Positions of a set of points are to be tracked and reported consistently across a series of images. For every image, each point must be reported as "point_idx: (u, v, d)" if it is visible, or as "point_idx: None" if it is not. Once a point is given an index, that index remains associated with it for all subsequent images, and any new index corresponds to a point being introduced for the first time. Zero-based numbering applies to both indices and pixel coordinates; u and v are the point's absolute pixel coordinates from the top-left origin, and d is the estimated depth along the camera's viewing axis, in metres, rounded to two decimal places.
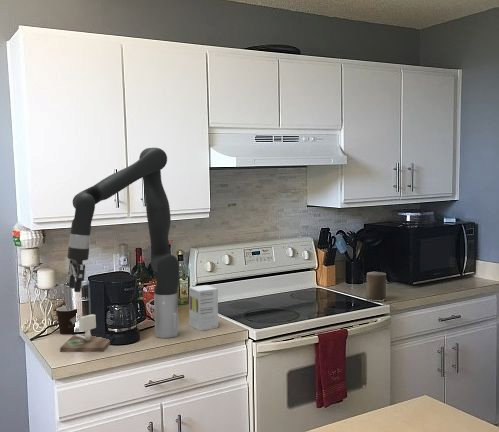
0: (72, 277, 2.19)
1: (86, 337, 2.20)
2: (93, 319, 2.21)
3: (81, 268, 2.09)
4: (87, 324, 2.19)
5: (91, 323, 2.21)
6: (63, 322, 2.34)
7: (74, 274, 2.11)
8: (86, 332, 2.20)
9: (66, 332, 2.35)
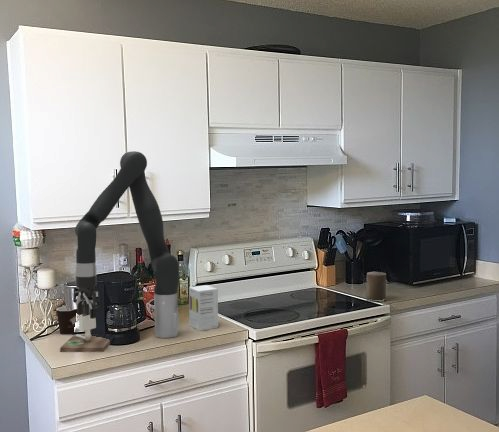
0: (79, 304, 2.22)
1: (86, 337, 2.20)
2: (93, 319, 2.21)
3: (97, 295, 2.15)
4: (87, 324, 2.19)
5: (91, 323, 2.21)
6: (63, 322, 2.34)
7: (88, 302, 2.16)
8: (86, 332, 2.20)
9: (66, 332, 2.35)
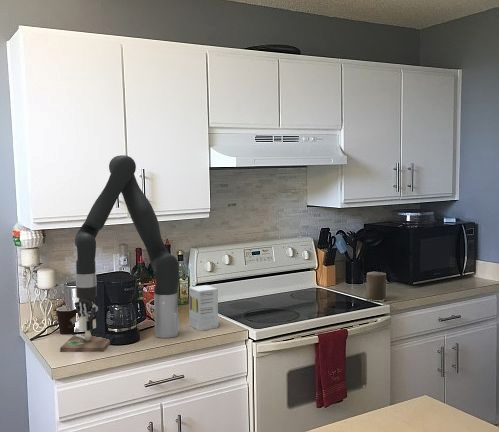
0: None
1: (86, 337, 2.20)
2: None
3: (96, 310, 2.16)
4: None
5: None
6: (63, 322, 2.34)
7: (86, 314, 2.18)
8: (86, 332, 2.20)
9: (66, 332, 2.35)
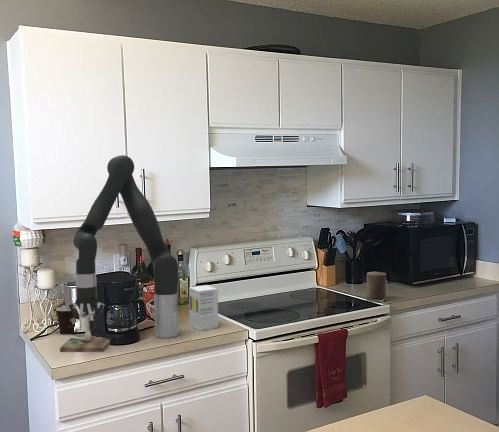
0: None
1: (87, 337, 2.20)
2: None
3: (102, 308, 2.20)
4: (88, 324, 2.20)
5: None
6: (63, 322, 2.34)
7: (92, 314, 2.19)
8: (87, 332, 2.20)
9: (66, 332, 2.35)
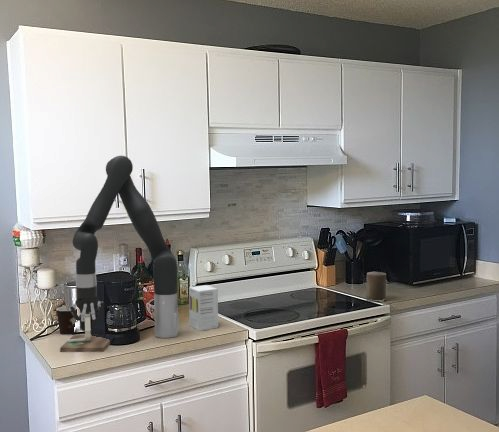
0: None
1: (88, 337, 2.20)
2: None
3: None
4: None
5: None
6: (63, 322, 2.34)
7: (94, 313, 2.20)
8: (88, 332, 2.20)
9: (66, 332, 2.35)
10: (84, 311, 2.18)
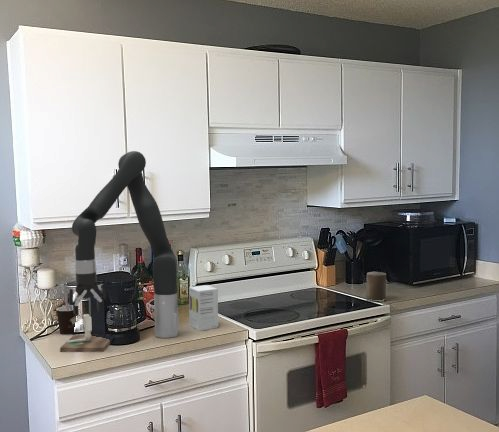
0: None
1: (89, 337, 2.20)
2: None
3: None
4: None
5: None
6: (63, 322, 2.34)
7: (98, 296, 2.20)
8: (89, 332, 2.20)
9: (66, 332, 2.35)
10: (81, 297, 2.16)
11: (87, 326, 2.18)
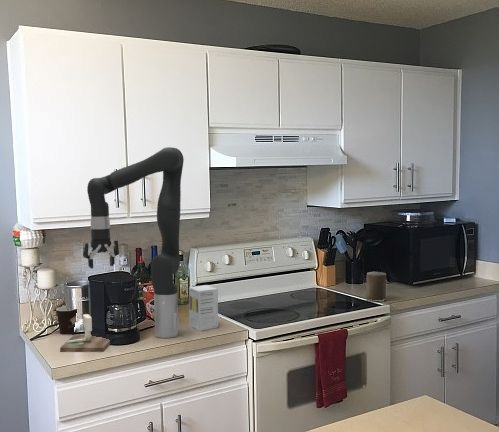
0: None
1: (89, 337, 2.20)
2: None
3: None
4: None
5: None
6: (63, 322, 2.34)
7: None
8: (89, 332, 2.20)
9: (66, 332, 2.35)
10: (96, 251, 2.32)
11: (87, 326, 2.18)
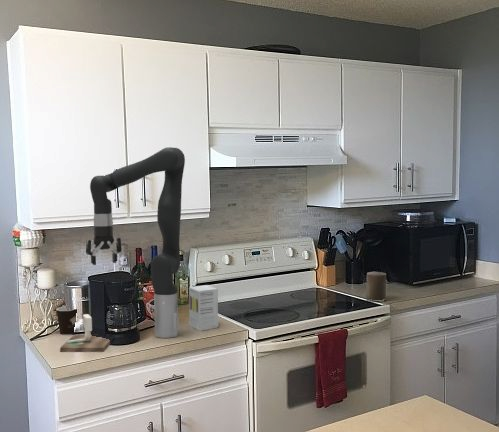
0: None
1: (89, 337, 2.20)
2: None
3: None
4: None
5: None
6: (63, 322, 2.34)
7: (114, 248, 2.38)
8: (89, 332, 2.20)
9: (66, 332, 2.35)
10: (99, 248, 2.34)
11: (87, 326, 2.18)
